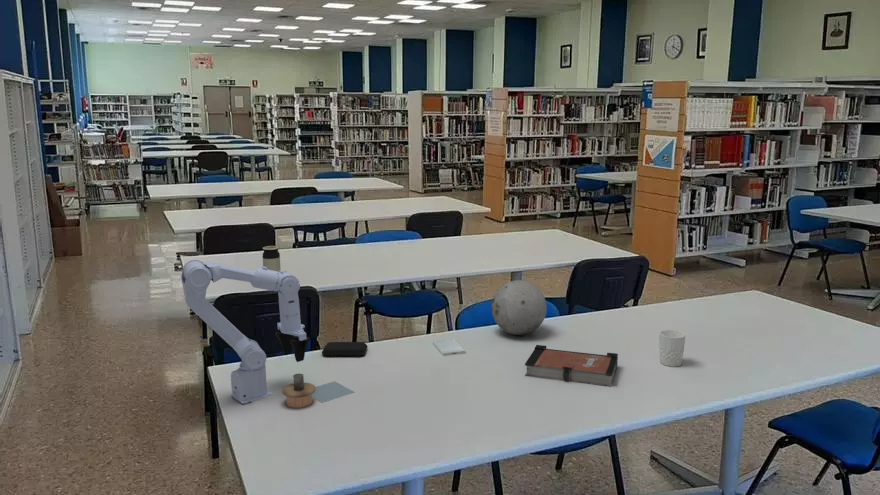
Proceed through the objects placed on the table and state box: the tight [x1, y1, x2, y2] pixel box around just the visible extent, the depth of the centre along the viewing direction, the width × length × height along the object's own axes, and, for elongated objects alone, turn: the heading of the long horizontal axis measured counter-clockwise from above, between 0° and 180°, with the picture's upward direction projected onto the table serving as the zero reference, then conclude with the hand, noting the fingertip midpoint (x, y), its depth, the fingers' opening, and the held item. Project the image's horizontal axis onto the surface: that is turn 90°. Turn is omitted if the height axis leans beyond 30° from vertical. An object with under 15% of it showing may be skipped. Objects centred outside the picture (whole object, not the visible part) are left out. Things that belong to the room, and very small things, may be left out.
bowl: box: [285, 394, 313, 409], centre depth 190 cm, size 7×7×4 cm
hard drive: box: [432, 338, 467, 357], centre depth 234 cm, size 2×8×12 cm
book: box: [524, 344, 619, 388], centre depth 212 cm, size 26×18×5 cm
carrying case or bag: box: [321, 341, 368, 358], centre depth 231 cm, size 11×3×15 cm
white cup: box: [659, 329, 687, 368], centre depth 218 cm, size 8×8×10 cm
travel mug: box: [262, 245, 282, 272], centre depth 323 cm, size 8×8×18 cm
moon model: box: [491, 279, 547, 336], centre depth 247 cm, size 20×20×20 cm
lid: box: [282, 373, 316, 398], centre depth 189 cm, size 9×9×5 cm
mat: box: [312, 380, 355, 404], centre depth 198 cm, size 11×11×1 cm
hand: (293, 357), depth 200 cm, fingers open, 7 cm apart
